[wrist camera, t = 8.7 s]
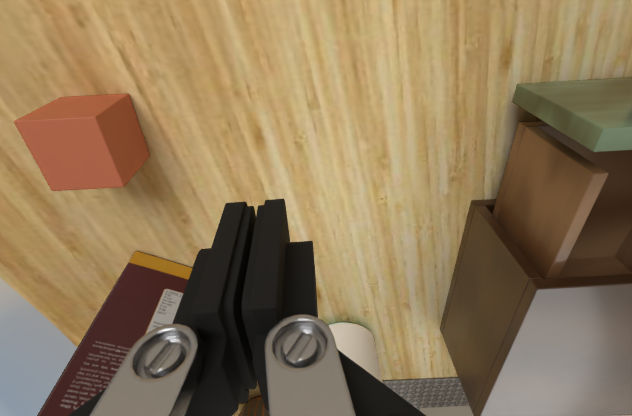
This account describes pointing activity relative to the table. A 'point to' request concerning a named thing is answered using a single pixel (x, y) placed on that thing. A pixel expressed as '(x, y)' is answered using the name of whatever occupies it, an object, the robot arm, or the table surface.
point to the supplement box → (119, 329)
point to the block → (85, 141)
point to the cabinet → (535, 331)
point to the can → (357, 346)
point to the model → (433, 396)
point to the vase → (255, 408)
